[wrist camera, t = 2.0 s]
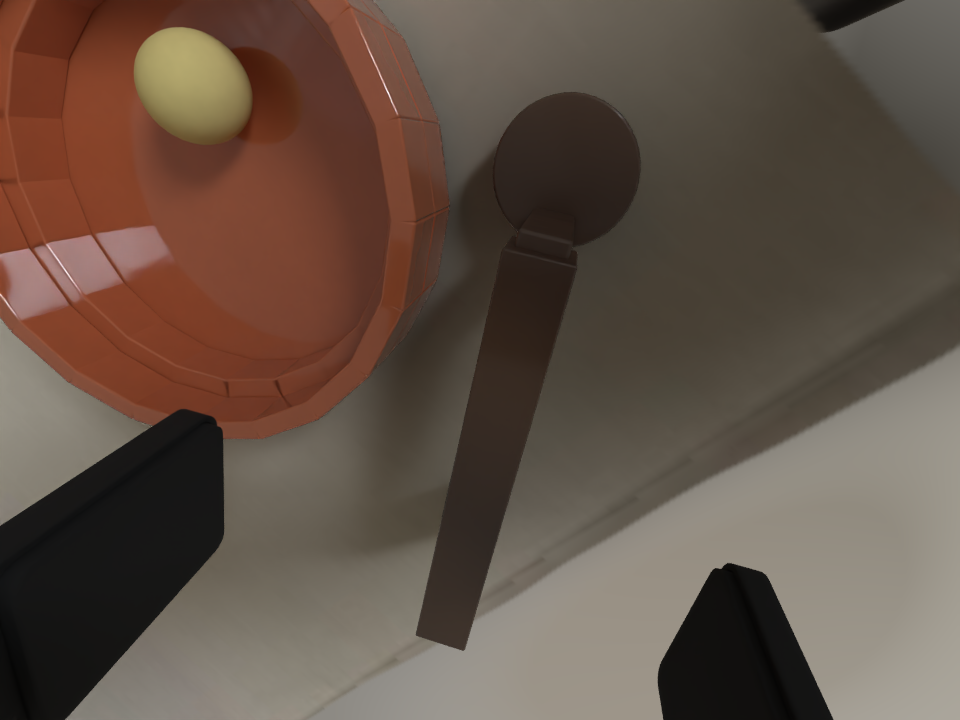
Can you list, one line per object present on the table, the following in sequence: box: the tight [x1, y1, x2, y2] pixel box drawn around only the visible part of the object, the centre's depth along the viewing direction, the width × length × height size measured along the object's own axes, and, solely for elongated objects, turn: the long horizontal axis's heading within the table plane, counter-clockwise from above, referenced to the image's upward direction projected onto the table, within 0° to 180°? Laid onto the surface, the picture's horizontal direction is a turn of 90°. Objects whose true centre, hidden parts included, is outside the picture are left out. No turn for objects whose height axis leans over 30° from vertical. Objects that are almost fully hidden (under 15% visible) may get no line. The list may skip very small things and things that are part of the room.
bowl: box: [0, 0, 450, 439], centre depth 16 cm, size 15×15×4 cm
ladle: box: [416, 92, 641, 651], centre depth 15 cm, size 16×4×6 cm, turn 168°
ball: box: [134, 27, 253, 145], centre depth 14 cm, size 3×3×3 cm
